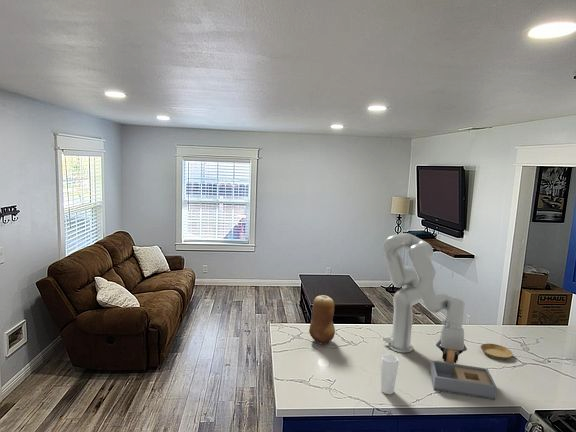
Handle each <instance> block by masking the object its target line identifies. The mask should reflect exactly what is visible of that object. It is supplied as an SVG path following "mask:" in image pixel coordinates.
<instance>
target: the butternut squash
mask: <svg viewBox="0 0 576 432" xmlns="http://www.w3.org/2000/svg"><path fill="white" fill-rule="evenodd" d="M334 316H335V301H334V300H333V298H331V297H330V296H328V295H323V294H321V295H318V296H316V297H315V298H314V299H313V303H312V316H311V322H310V324H309V329H308V331H309V335H310V337H311V339H313V341H315V342H317V343H318V344H320V345H327V344H329V343H331V341H332V340H333V339H334V338H335V334H336V329H335V325H334V321H333V319H334Z"/></svg>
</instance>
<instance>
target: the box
mask: <svg viewBox="0 0 576 432" xmlns="http://www.w3.org/2000/svg"><path fill="white" fill-rule="evenodd" d="M429 374H430V378H431V382H432V383H431V384H432V387H433V391H437V392H442V393H443V392H444V393H448V394H449V393H450V394H456V395H461V396H466V397H467V396H468V397H475V398H480V399H486V400H492V401H495V400H496V392H497V386H496V383H495V381H494V379H493V376H492V375H491V373H490V371H489V369H488V368H486V367H478V366H472V365H465V364H457V363H454V364H453V363H446V362H444V361H439V360H437V361H436V360H430V368H429Z"/></svg>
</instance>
